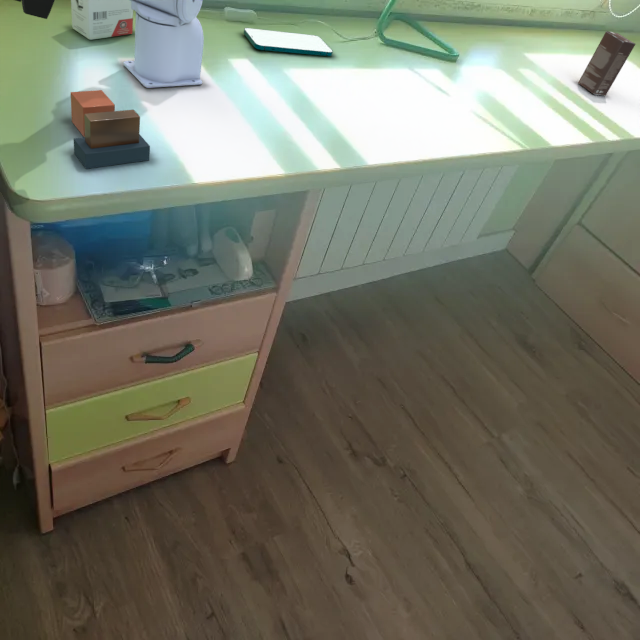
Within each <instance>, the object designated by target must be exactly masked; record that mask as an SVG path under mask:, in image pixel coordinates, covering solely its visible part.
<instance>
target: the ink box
mask: <svg viewBox="0 0 640 640" xmlns="http://www.w3.org/2000/svg"><path fill="white" fill-rule="evenodd" d="M70 6H71V7H70V9H71V10H70V11H71V28H72V29H73V30H74V31H76V32H78V33H79V34H80V35H82V36H83V37H85V38H86V39H88V40H90V41H92V40H98V39H99V40H100V39H105V38H107V39H108V38H113V37H119V36H127V35H132V34H133V33H134V32H133V31H134V10H132V9H131V1H129V0H70Z"/></svg>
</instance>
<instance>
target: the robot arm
mask: <svg viewBox="0 0 640 640" xmlns="http://www.w3.org/2000/svg"><path fill="white" fill-rule="evenodd" d="M14 1H16V2H19V3H21V6H22V11H23V12H22V13H23V14H26V15H29V16H33V17H36V18H41V19H45V20H47V19H48V18H49V16H50V13H51V11H52V9H53V6H54V3H55V0H14ZM129 1H131V9H132V10H133V11H135V27H134V28H135V30H134V58H133V59H134V60H124V61H123V62H122V64H123V66H124V67H125V68H126V69H127V70H128V71H129V72H130V73H131V74H132V75H133V76H134V77H135V78H136V79H137V80H138V81H139V83H140V84H142V86H143V87H144V88H146V89H151V88H152V89H153V88H167V87H168V88H169V87H182V86H197V85H202V84H203V80H202V79H201V73H202V63H203V62H202V61H203V53H204V44H205V42H204V41H205V40H204V39H205V38H204V30H203V26H202V24H201V22H200V20H199V18H198V17H197V16H198V15H199V13H200V11H201V8H202V5H203V1H204V0H129Z"/></svg>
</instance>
